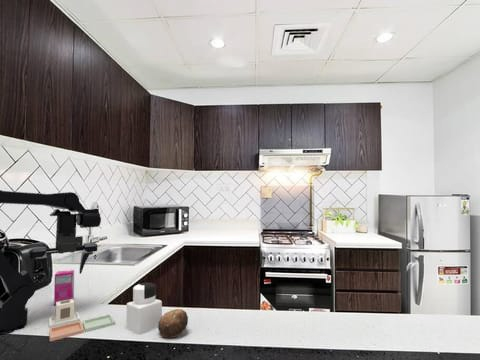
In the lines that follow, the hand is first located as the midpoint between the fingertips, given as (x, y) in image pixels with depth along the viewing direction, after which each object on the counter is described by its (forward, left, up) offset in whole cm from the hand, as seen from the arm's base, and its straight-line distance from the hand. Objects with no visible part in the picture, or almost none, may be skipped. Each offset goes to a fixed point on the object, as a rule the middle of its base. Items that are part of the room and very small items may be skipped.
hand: (64, 275), depth 89 cm
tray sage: (+8, -18, -12) cm, 23 cm away
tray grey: (0, -8, -12) cm, 15 cm away
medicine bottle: (+18, -29, -13) cm, 36 cm away
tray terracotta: (0, -18, -12) cm, 22 cm away
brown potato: (+23, -38, -13) cm, 46 cm away
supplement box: (+1, +15, -13) cm, 20 cm away
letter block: (0, -8, -12) cm, 15 cm away
